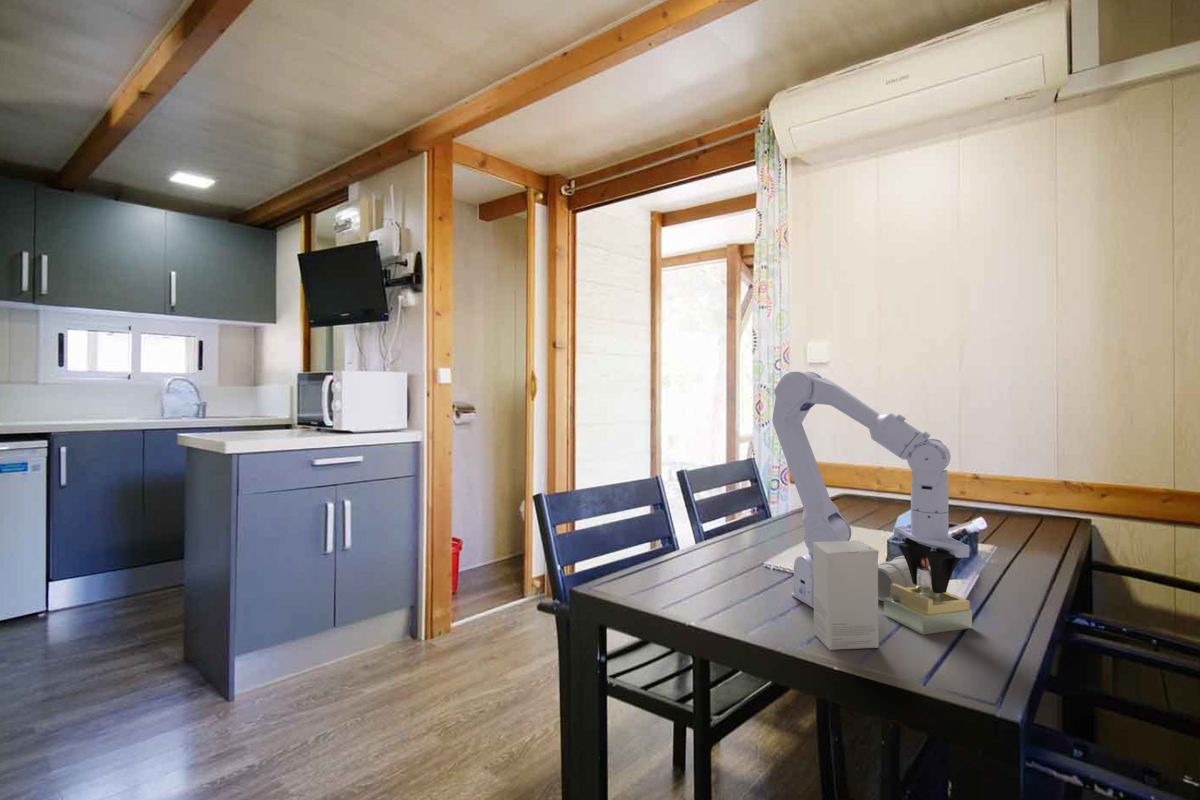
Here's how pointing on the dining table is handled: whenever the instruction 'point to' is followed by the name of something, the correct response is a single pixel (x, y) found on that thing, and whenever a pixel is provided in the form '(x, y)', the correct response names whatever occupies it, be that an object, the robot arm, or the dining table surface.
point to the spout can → (926, 581)
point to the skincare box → (846, 594)
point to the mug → (893, 576)
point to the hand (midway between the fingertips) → (929, 588)
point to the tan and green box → (927, 611)
